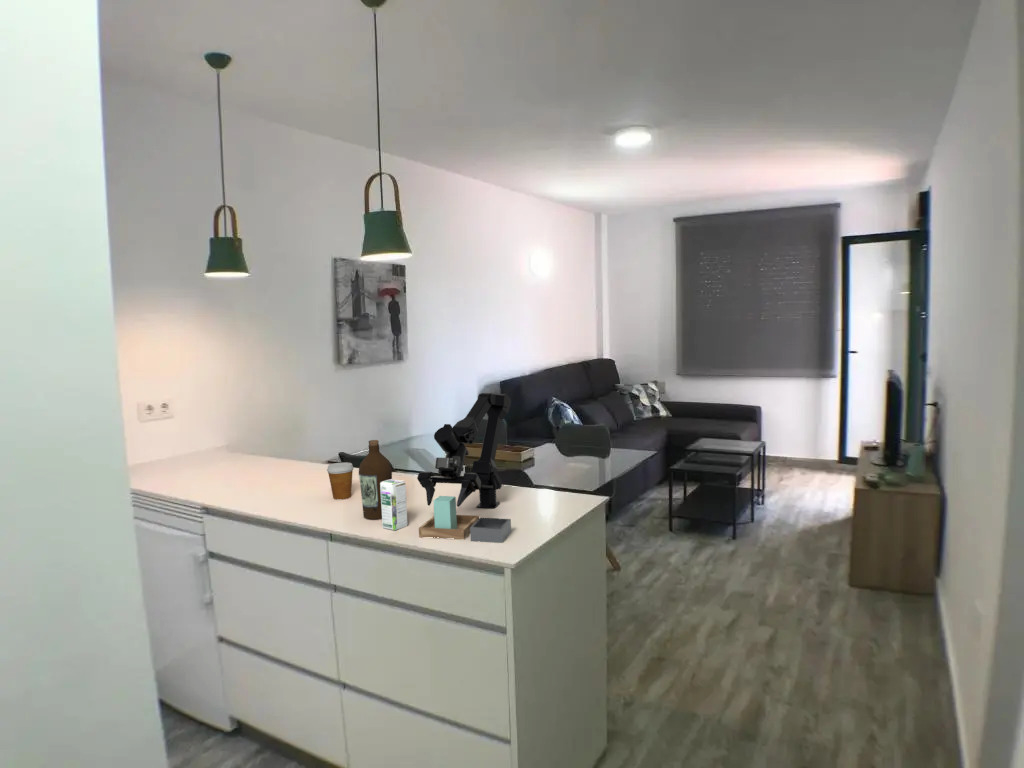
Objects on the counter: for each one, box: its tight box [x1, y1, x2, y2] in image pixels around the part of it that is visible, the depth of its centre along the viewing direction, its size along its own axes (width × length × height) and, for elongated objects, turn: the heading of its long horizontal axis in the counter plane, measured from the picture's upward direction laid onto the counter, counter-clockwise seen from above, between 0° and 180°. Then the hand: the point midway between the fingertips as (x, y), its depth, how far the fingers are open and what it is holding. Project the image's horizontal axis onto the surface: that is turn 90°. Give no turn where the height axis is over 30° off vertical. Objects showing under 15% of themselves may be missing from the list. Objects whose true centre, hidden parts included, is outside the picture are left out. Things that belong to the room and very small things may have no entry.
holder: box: [469, 517, 512, 544], centre depth 195 cm, size 9×9×4 cm
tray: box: [418, 514, 480, 540], centre depth 202 cm, size 14×14×3 cm
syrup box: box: [380, 478, 408, 531], centre depth 207 cm, size 6×6×14 cm
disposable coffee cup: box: [326, 462, 355, 500], centre depth 245 cm, size 10×10×12 cm
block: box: [432, 495, 457, 529], centre depth 199 cm, size 5×5×10 cm
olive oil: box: [358, 439, 393, 521], centre depth 219 cm, size 11×11×25 cm
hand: (443, 505), depth 197 cm, fingers open, 9 cm apart
